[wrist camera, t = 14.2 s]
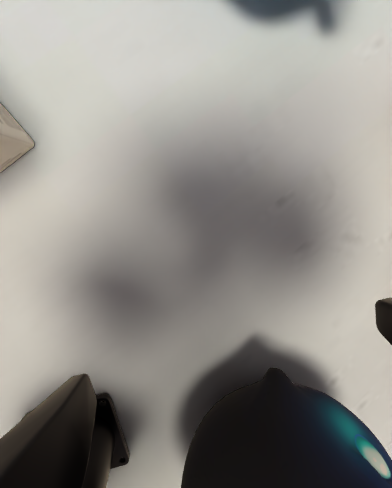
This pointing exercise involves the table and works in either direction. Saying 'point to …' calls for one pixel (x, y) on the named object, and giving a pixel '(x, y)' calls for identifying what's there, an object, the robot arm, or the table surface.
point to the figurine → (284, 442)
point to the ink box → (12, 140)
